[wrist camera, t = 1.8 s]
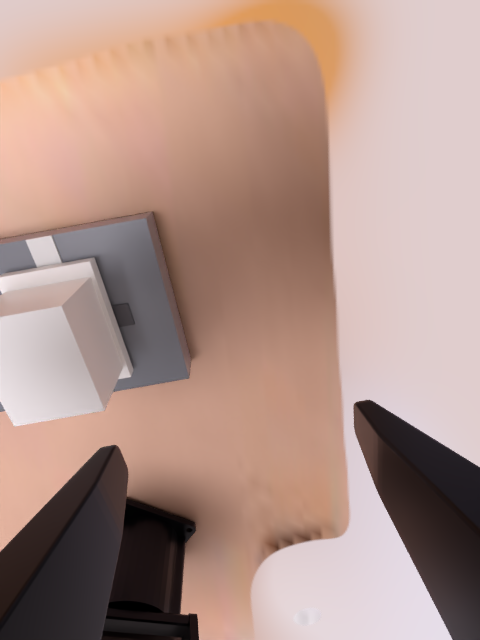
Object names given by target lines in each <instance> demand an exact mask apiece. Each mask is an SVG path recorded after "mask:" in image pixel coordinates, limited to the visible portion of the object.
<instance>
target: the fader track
mask: <svg viewBox="0 0 480 640" xmlns="http://www.w3.org/2000/svg"><path fill="white" fill-rule="evenodd" d="M93 257H94V258H95V261H96V264H97V267H98V269H99V272H100V275H101V278H102V281H103V284H104V287H105V289H106V292H107V295H108V298H109V301H110V304H111V307H112V309H113V312H114V315H115V318H116V321H117V324H118V327H119V329H120V332H121V335H122V338H123V341H124V344H125V347H126V350H127V352H128V355H129V358H130V361H131V364H132V367H133V373H132V376H131V377H129V378H123V379H118V380H117V383H116V385H115V388H114V390H113V392H115V391H120V390H126V389H131V388H137V387H143V386H148V385H154V384H160V383H165V382H171V381H177V380H182V379H188V378H189V377H190V367H191V357H190V353H189V349H188V345H187V342H186V338H185V334H184V330H183V326H182V323H181V319H180V315H179V311H178V307H177V304H176V300H175V296H174V292H173V288H172V284H171V281H170V277H169V273H168V269H167V265H166V262H165V258H164V254H163V250H162V246H161V242H160V239H159V235H158V231H157V227H156V223H155V220H154V216H153V212H148V213H142V214H137V215H131V216H126V217H120V218H114V219H109V220H103V221H98V222H92V223H87V224H81V225H76V226H70V227H65V228H59V229H54V230H48V231H43V232H37V233H32V234H26V235H20V236H15V237H9V238H4V239H0V275H1V274H4V273H10V272H15V271H21V270H26V269H32V268H37V267H43V266H48V265H54V264H59V263H65V262H71V261H76V260H82V259H87V258H93ZM0 295H2V293H1V291H0ZM113 392H112V393H113ZM2 411H5V409H4V407H3V406H2V404H1V402H0V412H2Z"/></svg>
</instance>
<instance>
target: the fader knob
mask: <svg viewBox="0 0 480 640" xmlns="http://www.w3.org/2000/svg"><path fill="white" fill-rule="evenodd" d="M0 291H1V293H2V295H0V402H1V404H2V406H3V407H4V409H5V411H6V413H7V414H8V416H9V418H10V420H11V421H12V423H13V425H14V427H15V426H20V425H26V424H32V423H37V422H43V421H49V420H54V419H60V418H66V417H71V416H77V415H82V414H88V413H94V412H99V411H105V409H106V407H107V404H108V402H109V400H110V397H111V395H112V392H113V390H114V388H115V385H116V383H117V380H118V379H123V378H129V377H131V376H132V373H133V367H132V364H131V361H130V358H129V355H128V352H127V350H126V347H125V344H124V341H123V338H122V335H121V332H120V329H119V327H118V324H117V321H116V318H115V315H114V312H113V309H112V307H111V304H110V301H109V298H108V295H107V292H106V289H105V287H104V284H103V281H102V278H101V275H100V272H99V269H98V267H97V264H96V261H95V258H94V257H93V258H87V259H82V260H76V261H71V262H65V263H59V264H54V265H48V266H43V267H37V268H32V269H26V270H21V271H15V272H10V273H4V274H1V275H0Z"/></svg>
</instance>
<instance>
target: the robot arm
mask: <svg viewBox="0 0 480 640" xmlns="http://www.w3.org/2000/svg"><path fill="white" fill-rule="evenodd" d="M354 428H355V433H356V436H357V439H358V442H359V444H360V447H361V450H362V452H363V455H364V458H365V460H366V463H367V466H368V468H369V471H370V473H371V476H372V478H373V481H374V484H375V486H376V489H377V491H378V494H379V496H380V498H381V500H382V502H383V504H384V506H385V508H386V510H387V512H388V514H389V516H390V518H391V520H392V521H393V523H394V525H395V527H396V529H397V531H398V533H399V535H400V537H401V539H402V541H403V543H404V545H405V547H406V549H407V551H408V553H409V554H410V557H411V559H412V561H413V563H414V565H415V566H416V569H417V570H418V572H419V574H420V576H421V578H422V580H423V582H424V584H425V586H426V588H427V590H428V592H429V594H430V596H431V598H432V600H433V602H434V604H435V606H436V608H437V609H438V612H439V614H440V615H441V618H442V619H443V621H444V623H445V625H446V627H447V629H448V631H449V633H450V635H451V637H452V639H453V640H480V467H478V466H477V465H475V464H473V463H472V462H470V461H469V460H467V459H465V458H464V457H462V456H460V455H459V454H457V453H455V452H454V451H452V450H451V449H449V448H448V447H446V446H444V445H443V444H441V443H439V442H438V441H436V440H435V439H433V438H431V437H430V436H428V435H426V434H425V433H423V432H422V431H420V430H418V429H417V428H415V427H413V426H412V425H410V424H409V423H407V422H405V421H404V420H402V419H401V418H399V417H397V416H396V415H394V414H393V413H391V412H389V411H387V410H386V409H384V408H383V407H381V406H380V405H378V404H376V403H375V402H373V401H371V400H365V401H359V402H356V403H355V404H354ZM127 484H128V468H127V465H126V463H125V460H124V458H123V456H122V453H121V451H120V449H119V447H118V446H117V445H111V446H106V447H102V448H100V449H99V450H98V451H97V452H96V453H95V454H94V455H93V456H92V457H91V458H90V459H89V460H88V461H87V462H86V463H85V464H84V465H83V466H82V467H81V468H80V470H79V471H78V472H77V473H76V474H75V475H74V476H73V477H72V478H71V479H70V480H69V481H68V482H67V483H66V484H65V485H64V486H63V487H62V488H61V489H60V490H59V491H58V492H57V493H56V494H55V496H54V497H53V498H52V499H51V500H50V501H49V502H48V503H47V504H46V505H45V506H44V507H43V508H42V509H41V510H40V511H39V512H38V513H37V514H36V515H35V516H34V517H33V518H32V519H31V520H30V522H29V523H28V524H27V525H26V526H25V527H24V528H23V529H22V530H21V531H20V532H19V533H18V534H17V535H16V536H15V537H14V538H13V539H12V540H11V541H10V542H9V543H8V544H7V545H6V546H5V548H4V549H3V550H2V551H1V552H0V640H199V634H198V618H197V614H190V613H189V615H183V614H180V612H181V598H182V584H183V569H184V555H185V543H186V542H187V541H188V540H189V538H190V537H191V536H192V535H193V534H194V533H195V531H196V524H195V523H194V522H192V521H190V520H187V519H184V518H181V517H178V516H175V515H172V514H169V513H167V512H164V511H161V510H158V509H155V508H152V507H149V506H146V505H143V504H141V503H138V502H135V501H132V500H129V499H126V494H127Z"/></svg>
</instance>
